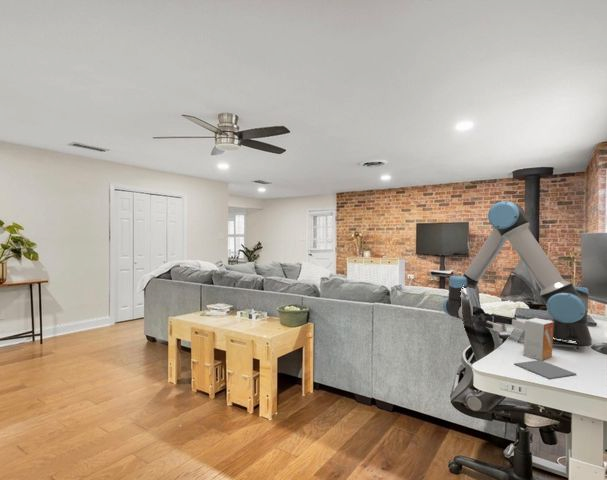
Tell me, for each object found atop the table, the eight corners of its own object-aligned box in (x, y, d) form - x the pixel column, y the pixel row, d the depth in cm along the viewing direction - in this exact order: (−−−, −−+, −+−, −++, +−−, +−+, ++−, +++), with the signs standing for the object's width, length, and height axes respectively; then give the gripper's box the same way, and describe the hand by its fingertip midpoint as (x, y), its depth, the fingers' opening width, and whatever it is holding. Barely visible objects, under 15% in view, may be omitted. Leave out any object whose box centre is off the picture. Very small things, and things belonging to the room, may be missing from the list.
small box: (542, 361, 123) (544, 324, 122) (522, 355, 128) (524, 320, 128) (552, 356, 127) (554, 321, 127) (533, 351, 132) (535, 317, 132)
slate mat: (540, 361, 123) (540, 360, 123) (576, 375, 111) (576, 373, 111) (514, 364, 119) (514, 363, 119) (549, 379, 107) (549, 378, 107)
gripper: (493, 321, 161) (537, 335, 141) (449, 324, 153) (488, 339, 133) (494, 304, 161) (538, 316, 141) (450, 307, 153) (490, 320, 133)
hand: (514, 327), depth 137 cm, fingers open, 13 cm apart
